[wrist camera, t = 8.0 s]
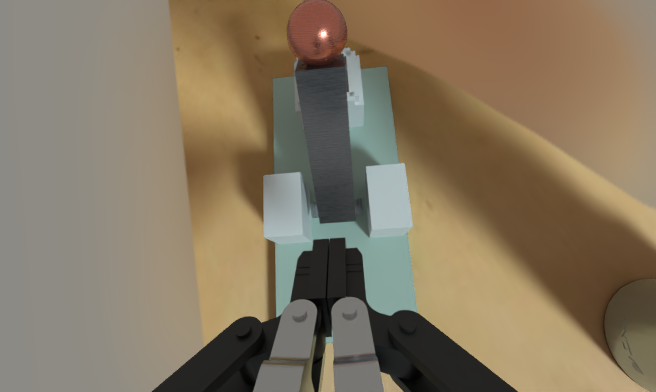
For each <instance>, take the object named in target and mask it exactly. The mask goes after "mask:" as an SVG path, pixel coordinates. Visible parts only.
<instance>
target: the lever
mask: <svg viewBox="0 0 656 392" xmlns="http://www.w3.org/2000/svg"><path fill="white" fill-rule="evenodd" d="M287 40H288V44H289V46H290V49H291V51H292V52H293V54H294V55H295V56H296V57H297V58H298V62H297V66H296V69H295V78H296V84H297V90H298V96H299V102H300V108H301V114H302V120H303V126H304V132H305V138H306V144H307V150H308V156H309V162H310V168H311V174H312V180H313V186H314V192H315V198H316V202H311V215H312V218H319V222H320V224H325V223H339V222H353V221H356V215H363V214H364V211H363V199H362V198H357V199H354V187H353V173H352V159H351V145H350V131H349V117H348V103H347V89H346V75H345V63H344V55H343V54H341V53H342V51H343V49H344V47H345V44H346V40H347V26H346V22H345V20H344V17H343V15H342V13H341V12H340V10H339V9H338V8H337V7H336V6H335V5H333V4H332V3H330V2H328V1H326V0H307V1H304V2H303V3H301V4H300V5H298V6H297V7H296V8H295V9H294V11H293V12H292V14H291V16H290V18H289V21H288V25H287Z"/></svg>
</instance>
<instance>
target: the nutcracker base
mask: <svg viewBox="0 0 656 392" xmlns="http://www.w3.org/2000/svg"><path fill="white" fill-rule="evenodd" d="M341 54H343V55H344V63H345V75H346V89H347V103H348V117H349V131H350V145H351V159H352V173H353V187H354V199H357V198H362V199H363V211H364V214H363V215H356V221H353V222H339V223H325V224H320V222H319V218H312V215H311V202H316V198H315V192H314V186H313V180H312V174H311V168H310V162H309V156H308V150H307V144H306V138H305V132H304V126H303V120H302V114H301V108H300V102H299V96H298V90H297V84H296V78H295V69H296V66H297V62H298V58H297V57H296V62H294V76H291V77H282V78H273V131H274V174H272V175H263V202H264V238H266V239H268V240H271V241H273V242H275V267H276V317H278V316H280V315H281V314H282V313H283V310H284V309H285V307H286V306H287V305H288V304H290V300H291V294H292V288H293V282H294V277H295V271H296V265H297V259H298V258H299V256H300V255H301V253H302V252H303V251H312V248H313V240H314V239H329V240H330V238H343V237H345V239H346V248H358V250H359V251H360V252H361V254H362V257H363V268H364V279H365V290H366V299H367V302H368V304H369V306H370V307H371V308H372V309H374V310H375V311H377V312H379V313H382V314H386V315H390V316H391V315H392V314H394V313H395V312H397V311H400V310H411V311H414V312H416V313H417V306H416V298H415V290H414V281H413V273H412V265H411V257H410V249H409V241H408V233H407V232H408V231H409V230H410V229H411V228H412V227H413V224H412V216H411V208H410V201H409V193H408V185H407V177H406V170H405V163H400V164H399V160H398V152H397V144H396V136H395V128H394V120H393V111H392V103H391V95H390V87H389V79H388V71H387V66H383V67H374V68H365V69H361V68H360V58H359V55H357V56H355V51H350V47H349V48H344V49H343V51H342V53H341ZM326 343H333V331H332V337H326Z"/></svg>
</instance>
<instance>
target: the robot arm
mask: <svg viewBox="0 0 656 392" xmlns="http://www.w3.org/2000/svg"><path fill="white" fill-rule="evenodd" d="M604 328H605V334H606V340H607V342H608V345H609V348H610V350H611V353H612V354H613V356H614V358H615V359H616V361H617V363H618V364H619V366H620V367H621V368H622V369H623V370H624V371H625V373H626V374H627V375H628V376H629V377H630V378H632V379H633V380H634V381H635V382H636V383H637V384H639V385H640V386H642V387H643V388H645V389H647V390H649V391H650V392H656V279H642V280H638V281H634V282H631V283H629V284H627V285H625V286H624V287H622V288H621V289H620V290H619V291H618V292H616V293H615V294H614V296H613V297H612V299H611V301H610V302H609V304H608V307H607V310H606V313H605V324H604ZM332 331H333V348H334V361H333V368H334V385H335V392H384V389H383V384H382V379H381V373H380V372H383V373H386V374H389V375H390V376H391V378H392V379H393V381H394V382H395V383H396V384H397V385H398V386H399V387H400V388H401V389H402V390H403V391H404V392H518V391H516V390H515V389H514V388H513V387H511V386H510V385H509V384H507V383H506V382H505V381H504V380H502V379H501V378H500V377H499V376H497V375H496V374H495V373H493V372H492V371H491V370H490V369H488V368H487V367H486V366H485V365H483V364H482V363H481V362H479V361H478V360H477V359H476V358H474V357H473V356H472V355H471V354H469V353H468V352H467V351H466V350H464V349H463V348H462V347H460V346H459V345H458V344H457V343H455V342H454V341H453V340H452V339H450V338H449V337H448V336H446V335H445V334H444V333H443V332H441V331H440V330H439V329H438V328H436V327H435V326H434V325H432V324H431V323H430V322H429V321H427V320H426V319H425V318H424V317H422V316H421V315H420V314H418V313H416V312H414V311H411V310H400V311H397V312H395V313H394V314H392V315H391V316H390V315H386V314H382V313H379V312H377V311H375V310H374V309H372V308H371V307H370V306H369V304H368V302H367V299H366V290H365V279H364V268H363V257H362V254H361V252H360V251H359V250H358V248H346V239H345V237H343V238H330V240H329V239H314V240H313V248H312V251H303V252H302V253H301V255H300V256H299V258H298V259H297V265H296V271H295V277H294V282H293V288H292V294H291V300H290V304H288V305H287V306H286V307H285V309H284V310H283V313H282V314H281V315H280V316H278V317H276V318H274V319H271V320H268V321H265V322H262V323H261V322H260V321H259V320H258V319H257V318H255V317H243V318H240V319H238V320H236V321H235V322H233V323H232V324H231V325H230V326H229V327H227V328H226V329H225V330H224V331H223V332H222V333H220V334H219V335H218V336H217V337H216V338H214V339H213V340H212V341H211V342H210V343H209V344H207V345H206V346H205V347H204V348H203V349H202V350H200V351H199V352H198V353H197V354H196V355H194V357H192V358H191V359H190V360H189V361H187V362H186V363H185V364H184V365H183V366H181V367H180V368H179V369H178V370H177V371H176V372H174V373H173V374H172V375H171V376H170V377H168V378H167V379H166V380H165V381H164V382H163V383H161V384H160V385H159V386H158V387H157V388H156V389H154V390H153V391H152V392H321V388H322V379H323V371H324V363H325V345H326V337H332Z"/></svg>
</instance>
